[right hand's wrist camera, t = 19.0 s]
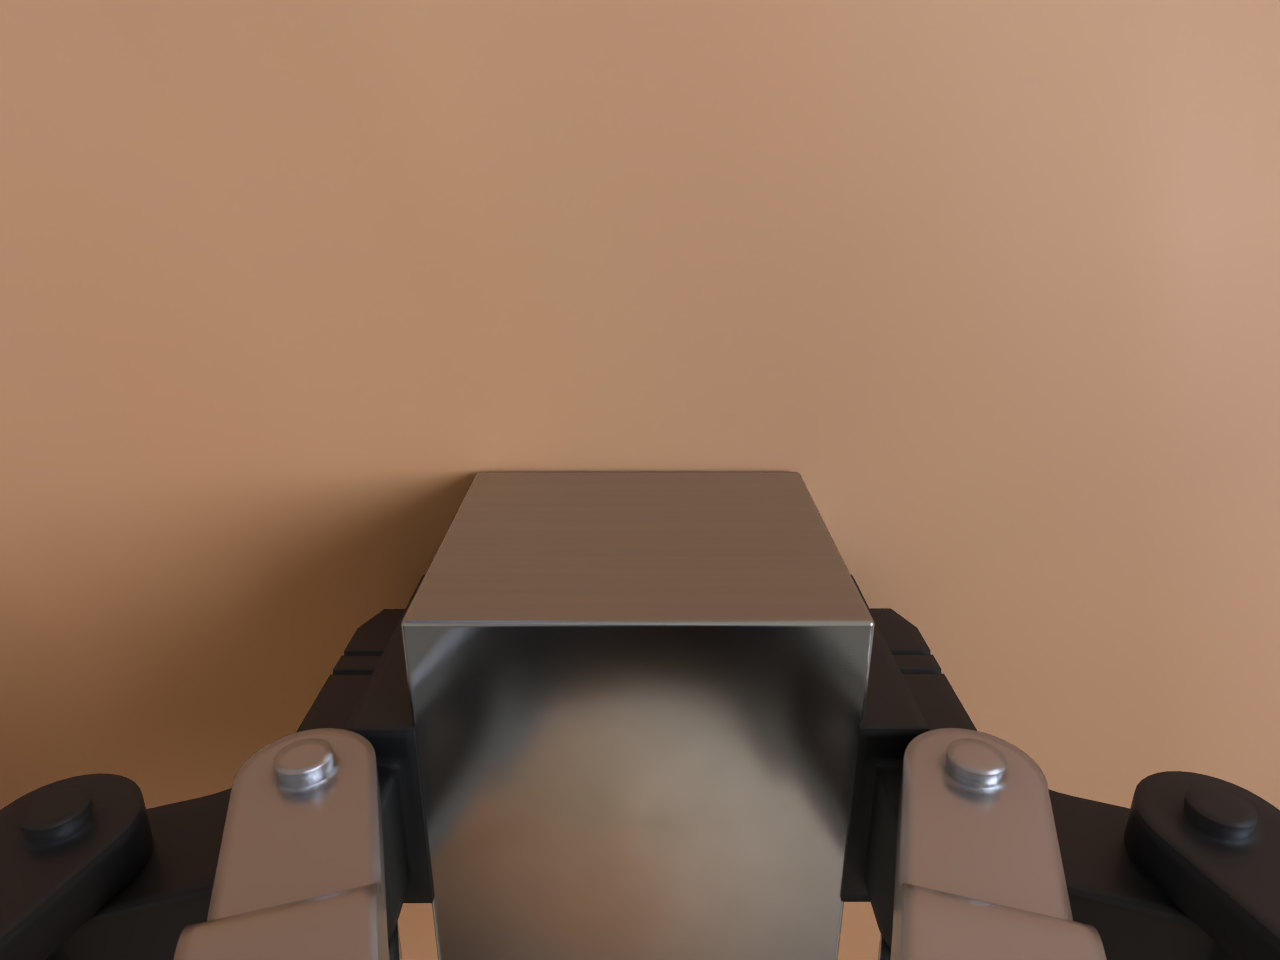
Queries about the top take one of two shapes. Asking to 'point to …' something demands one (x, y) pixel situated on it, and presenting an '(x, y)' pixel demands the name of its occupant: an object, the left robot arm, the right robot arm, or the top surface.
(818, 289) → the top surface
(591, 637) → the block
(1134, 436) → the top surface
